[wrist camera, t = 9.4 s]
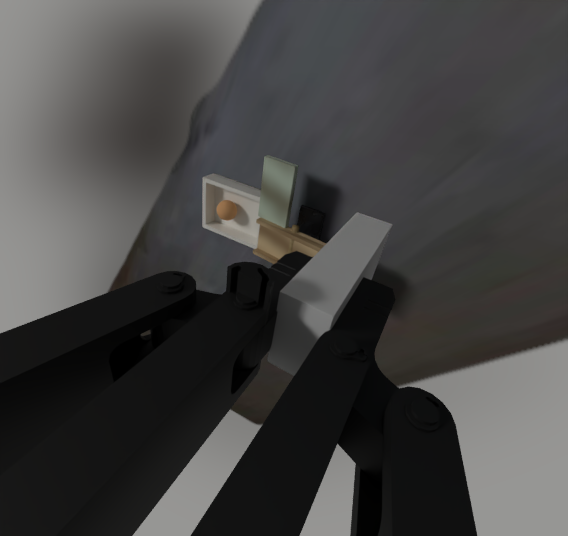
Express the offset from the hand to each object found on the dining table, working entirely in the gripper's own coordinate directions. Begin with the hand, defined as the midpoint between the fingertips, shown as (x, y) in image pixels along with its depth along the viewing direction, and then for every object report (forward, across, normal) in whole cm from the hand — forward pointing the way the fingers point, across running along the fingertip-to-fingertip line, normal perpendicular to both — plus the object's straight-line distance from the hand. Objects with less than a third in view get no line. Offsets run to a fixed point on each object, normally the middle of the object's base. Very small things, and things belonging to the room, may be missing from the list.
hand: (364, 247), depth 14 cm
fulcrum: (+32, -14, -18) cm, 39 cm away
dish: (+32, -27, -18) cm, 46 cm away
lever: (+27, -12, -14) cm, 32 cm away
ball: (+30, -28, -18) cm, 45 cm away
